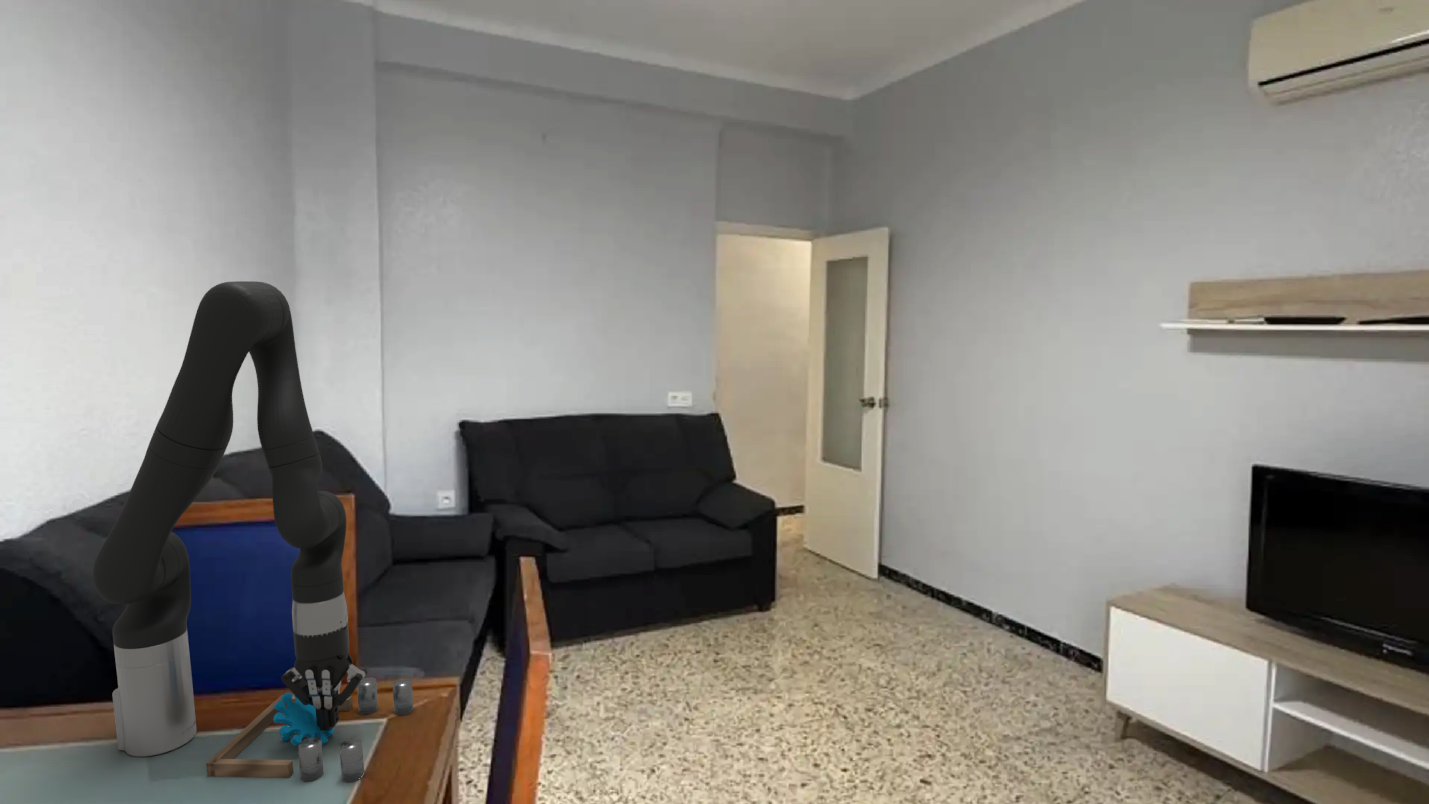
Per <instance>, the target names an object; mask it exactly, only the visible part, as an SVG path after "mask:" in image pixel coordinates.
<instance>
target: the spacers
mask: <svg viewBox="0 0 1429 804" xmlns="http://www.w3.org/2000/svg"><path fill="white" fill-rule="evenodd" d="M377 685H378V684H377V678H376V677H364V679H363V680H362V681H361V683H360V684H359V685H358V686H357V688H356V690H357V692H356V693H357V705H358V706H357V708H358V714H360V715H362V716H363V715H367V716H368V715H371V714H373V713H374V714H375V713H376V712H377V711H378V710H379V702H378V686H377ZM392 695H393V696H392V697H393V699H392V700H393V713H394V714H395V715H396V716H405V715H408V714H410V713H412V712H413V711H414V701H413V700H414V696H413V680H412V679H411V678H407V677H404V678H398V679H396V680H395V681H393V682H392ZM363 744H364V743H363V740H362V739H360V738H357V737H356V738H350V739H349V738H348V739H346V740H344V741H342V742H341V743H340V744H339V757H340V758H339V759H340V774H341V781H342V782H344V783H355V782H358V781H359V778H361V776H362V775H363V773H364V774H365V763H364V749H363ZM297 748H298V760H299V761H298V762H299V763H298V764H299V774H300V775H299V776H300V781H302V782H305V783H307V782H308V783H309V782H310V783H311V782H314V781H317V780H319V779H320V778H322V777H323V776H324V757H323V745H322V741H321V739H320V738H318V737H314V738H309V739H308V738H306V739H303V740H302V741H301V742H300V743H299V744H298V745H297ZM361 779H362V778H361Z"/></svg>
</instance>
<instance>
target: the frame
mask: <svg viewBox="0 0 1429 804" xmlns="http://www.w3.org/2000/svg"><path fill="white" fill-rule="evenodd" d="M283 695H284V694H281V695H280V696H279V697H277V699H275V700H274V701H273V702H272V703H271V704H270V705H269V706H267V707H266V708H265V709H264V710H263V711H262V712H261V713H260V714H258V716H257V717H255V719H253V720H252V721H251V722H250V723H249V724H247V726H246V727H245V728H243V729H242V730H241V731H240V732H238V734H237V735H235V737H234V738H232V739H231V740H230V741H229V742H228V743H227V744H226V745H225V746H223V747H222V748H221V750H218V752H217V753H216V754H215V755H213V757H212V758H210V759H209V760H208V761H207V762H205V766H206V767H205V768H206V776H207V777H226V778H227V777H228V778H229V777H233V778H238V777H239V778H240V777H241V778H276V779H277V778H278V779H279V778H280V779H281V778H282V779H284V778H285V779H289V778H291V777H292V775H293V774H294V773H295V771H294V760H293V759H255V758H253V759H250V758H236V757H238V756H239V754H241V753H242V752H243V751H244V750H245V749H246V748H247V747H248V746H249V745H250V744H251V743H252V742H253V741H254V740H255V739H257V738H258V737H259V736H260V735H261V734H262V733H263V732H264V731H265V730H266V729H268V727H269V726H270V725H271V724H272V723H274V721H273V719H274V716H275V715H276V714H277V713H278V712H280V711H278V710H276V709H275V708H274V706H275V705H276V704H277V703H278V702H279V701H280V700H282V696H283ZM292 695H293V697H292V702H294V703H295V697H294V694H292ZM282 701H283V700H282ZM284 703H285V702H284ZM285 706H286V708H288V707H287V705H286V703H285ZM353 707H354V706H353V696H352V695H351V696H350V697H349V698H348V699H347V700H346V701H345V702H344V703H343V704H342V705H341V706H338V711H339V712H350V711H352V709H353ZM281 713H282V712H281ZM282 714H283V713H282Z"/></svg>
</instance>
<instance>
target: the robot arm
mask: <svg viewBox="0 0 1429 804" xmlns="http://www.w3.org/2000/svg"><path fill="white" fill-rule="evenodd" d="M189 335H190V336H189V339H188V343H187V345H186V350H185V353H184V358H183V360H182V364H181V366H180V368H179V371H178V374H177V375H176V378H175V381H174V384H173V386H172V388H171V391H170V393H169V395H168V398H167V400H166V401H167V402H166V404H165V405H164V406H165V407H164V409H163V411H162V413H161V416H160V417H159V419H158V421H157V424H156V426H155V428H154V431H153V432H152V435H151V438H150V440H149V443H148V446H147V449H146V452H145V455H144V458H143V461H142V463H141V466H140V467H139V470H138V472H137V475H136V477H135V478H134V481H133V483H132V486H131V488H130V491H129V492H128V493H129V494H128V496H127V499H126V501H125V503H124V506H123V508H122V510H121V512H120V514H119V516H118V517H117V520H116V521H115V522H114V525H113V526H112V528H111V530H110V532H109V534H108V535H107V537H106V539H105V540H104V542H103V544H102V546H101V548H100V549H99V550H98V553H97V555H96V556H95V557H96V558H95V559H94V563H93V566H92V573H91V574H92V583H93V586H94V589H95V590H96V593H97V594H98V596H100V597H101V598H102V599H103V600H104V601H106V602H108V603H111V604H115V605H126V607H125V609H124V610H123V612H122V613H121V614H120V616H119V617H118V619H116V621H115V622H114V624H113V626H112V641H113V649H114V650H113V651H114V659H115V669H116V677H117V686H118V687H117V688H115V689H114V690H113V692H112V696H111V697H112V704H113V714H114V721H115V729H116V730H115V731H116V740H117V741H116V742H117V749H118V751H124V752H126V754H127V755H129V756H133V757H151V756H156V755H160V754H164V753H168V752H170V751H173V750H176V749H177V748H179V747H181V746H184V745H185V744H186V743H189V741H191V740H192V739H193V738H194V737H195V736H196V734H197V731H198V730H197V721H196V712H195V711H196V710H195V697H194V688H193V687H194V685H193V676H192V665H191V657H190V655H191V654H190V646H189V634H188V625H187V624H188V623H187V621H188V617H189V614H190V611H191V606H192V595H191V594H192V588H191V582H192V581H191V565H190V564H191V563H190V556H189V552H188V549H187V547H186V544H184V542H183V540H182V539H181V538H180V537H179V536H178V535H177V534H176V533H174V532H173V529H174V527H175V526H176V524H177V523H178V521H179V520H180V519H181V517H182V516H183V515H184V513H185V512H186V510H188V508H189V507H190V506H191V505H192V504H193V503H194V502H195V500H196V499H197V498H198V497H199V495H200V494H201V493H202V492H203V491H204V489H205V488H206V487H207V486H208V484H209V483H210V481H211V480H212V479H213V477H214V475H215V474H216V473H217V470H218V469H219V466H221V465H220V464H221V462H222V460H223V457H224V455H225V453H226V451H227V447H228V446H229V443H230V440H231V438H232V435H233V429H234V406H233V392H234V390H233V389H234V386H235V383H236V379H237V376H238V374H239V373H240V370H241V368H242V365H243V363H244V361H245V359H246V358H247V355H248V353H249V355H250V358H251V361H252V362H253V366H254V370H255V375H256V381H257V383H256V384H257V409H256V410H257V413H256V416H257V418H256V420H257V421H256V422H257V423H256V424H257V432H258V437H259V443H260V446H261V450H262V451H263V455H264V459H265V461H266V465H267V467H268V468H267V469H268V471H269V473H270V476H271V497H272V507H273V508H272V509H273V518H274V522H275V527H276V529H277V531H278V533H279V534H280V537H281V538H282V539H283V540H284V541H285V542H286V543H287V544H288V545H290V546H291V547H293V548H297V549H299V553H298V556H297V558H296V559H295V560H294V562H293V564H292V565H291V568H290V569H291V570H290V585H291V596H292V605H291V606H292V607H291V615H292V616H291V617H292V618H291V619H292V631H293V632H292V633H293V643H294V644H293V646H294V655H295V657H296V660H295V661H294V667H291V668H289V669H288V670H287V671H286V672H285V673H284V674H282V676H281V677H280V680H281V682H282V683H283V684H284V685H285V686H286V687H287V688H288V689H289V691H291V693H292V695H295V696H296V697H297V698H298V699H299V700H300V701H301V703H302V704H303V705H308V704H309V705H312V706H314V708H315V709H316V720H317V725H318V727H320V730H321V731H322V732H324V731H331V730H332V729H333V728H334V729H335V727H336V725H337V724H338V723H339V720H340V715H339V712H340V711H338V706H341V705H342V704H343V703H344V702H345V701H346V700H347V699H348V698H349V697H350V696H352V694H353V693H354V691H356V690H357V686H358V685H359V684H360V683H361V681H362V680H363V679H364V678H366V676H367V675H368V670H367V669H366V668H365V667H364V668H360V669H359V667H357V666H356V665H354V664H353V663H354V660H353V658H352V656H351V655H350V634H349V621H348V620H349V613H348V607H347V606H348V605H347V600H346V596H345V590H344V588H345V587H344V578H343V577H344V576H343V567H342V562H343V561H342V560H343V557H344V556H343V555H344V550H345V541H346V533H347V514H346V513H347V512H346V509H345V506H344V504H343V502H342V501H341V499H340V498H339V497H338V496H337V495H336V494H334V493H332V492H329V491H327V490H319V489H318V488H319V487H318V478H319V476H320V475H321V473H322V471H323V461H322V457H321V454H320V450H319V447H318V444H317V440H316V437H315V434H314V431H313V427H312V425H311V422H310V417H309V415H308V411H307V405H306V401H305V397H304V393H303V388H302V387H303V386H302V382H301V376H300V370H299V364H298V357H297V356H298V355H297V350H296V343H295V332H294V325H293V317H292V313H291V307H290V304H289V301H288V300H287V297H286V296H285V295H284V294H283V292H282V291H281V290H279V288H277V287H276V286H274V285H272V284H270V283H267V282H264V281H263V282H262V281H253V280H252V281H224V282H221V283H218V284H216V285H214V286H212V287H211V288H210V289H208V290H207V292H205V294H204V295H203V297H202V298H201V300H200V302H199V305H198V306H197V310H196V313H195V317H194V319H193V323H192V327H191V331H190V334H189ZM346 675H347V678H346V682H347V683H348V684H347V685H346V686H345V687H344V689H343V690H342V692H341V691H340V690H341V689H340V688H341V686H342V681H343V679H344V678H345V676H346Z"/></svg>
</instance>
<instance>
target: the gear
mask: <svg viewBox="0 0 1429 804" xmlns="http://www.w3.org/2000/svg"><path fill="white" fill-rule="evenodd" d="M282 695H283V696H282V700H283V701H282V700H280V701H279V702H278V703H277V704H276V705H275V706H274V708H275V709H276V710H278V711H280V712H278V713H277V714H276V715H275V716H274V719H273V723H275V724H280V723H281V724H284V725H282V726H281V727H280V728H279V729H278V732H279V734H280V736H281V740H282V741H283V742H287V741H289V740H290V741H289V742H290V743H291V744H292V745H293V746H295V747H298V745H299V743H300V742H302V741H303V738H304V737H306V739H309V738H315V736H316V738H320V739H321V741H322V746H324V745H326V744H327V742H329V739H328V738H329V737H331V735H333V734H334V732H335V727H334V728H333V729H332V730H331V731H321V730H320V727H318V725H317V720H316V709H315V708H314V706H312V705H309V704H308V705H303V704H302V703H301V701H300V700H299V699H298V698H297V697H296V696H295V695H294V694H293V693H292V692H286V693H284V694H282ZM293 695H294V697H295V703H294V702H292V697H293ZM284 702H285V703H286V705H287V707H288V708H286V706H285V703H284ZM281 712H282V713H281ZM295 734H296V735H295Z"/></svg>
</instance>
